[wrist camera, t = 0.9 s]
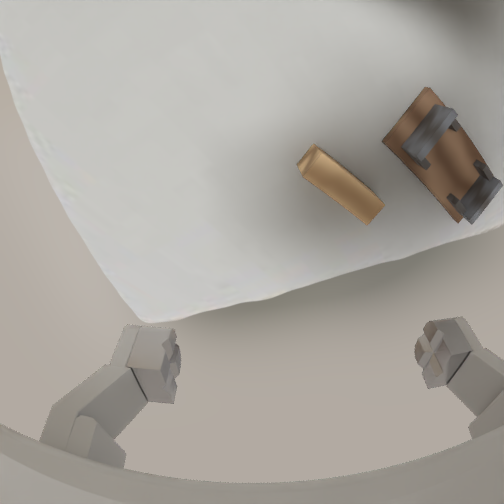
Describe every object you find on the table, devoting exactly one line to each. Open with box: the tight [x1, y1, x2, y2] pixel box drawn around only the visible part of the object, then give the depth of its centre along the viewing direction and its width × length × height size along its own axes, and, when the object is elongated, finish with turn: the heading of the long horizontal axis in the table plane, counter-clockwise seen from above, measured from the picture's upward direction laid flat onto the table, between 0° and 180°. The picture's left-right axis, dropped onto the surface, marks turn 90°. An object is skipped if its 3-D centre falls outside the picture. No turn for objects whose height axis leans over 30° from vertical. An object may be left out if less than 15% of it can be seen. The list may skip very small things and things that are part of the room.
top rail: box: [297, 144, 385, 225], centre depth 40 cm, size 4×12×6 cm, turn 56°
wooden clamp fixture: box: [382, 87, 503, 224], centre depth 37 cm, size 12×22×6 cm, turn 56°
